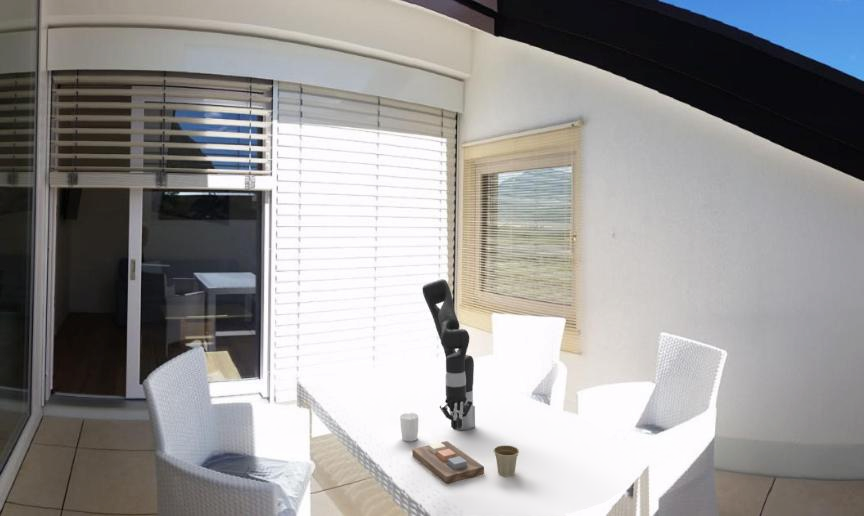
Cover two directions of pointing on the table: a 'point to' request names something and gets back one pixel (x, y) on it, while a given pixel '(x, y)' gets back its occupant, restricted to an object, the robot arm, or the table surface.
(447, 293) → the robot arm
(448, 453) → the terracotta pad
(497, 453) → the flower pot
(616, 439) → the table surface
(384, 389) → the table surface
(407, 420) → the white cup
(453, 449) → the button board
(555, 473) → the table surface
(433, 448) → the cream pad
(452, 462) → the grey pad
